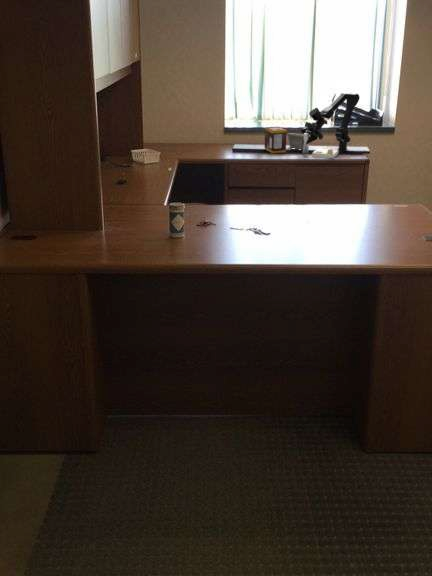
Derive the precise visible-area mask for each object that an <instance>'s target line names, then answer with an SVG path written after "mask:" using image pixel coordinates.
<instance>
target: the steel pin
mask: <svg viewBox="0 0 432 576" xmlns="http://www.w3.org/2000/svg"><path fill="white" fill-rule="evenodd" d="M303 135H304V142H303V150H302V153H303V154H309V149H310V147H309V145H310V143H309V144H306V142H307V140H308V139H309V136H310V135H309V133H304V134H303Z"/></svg>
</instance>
